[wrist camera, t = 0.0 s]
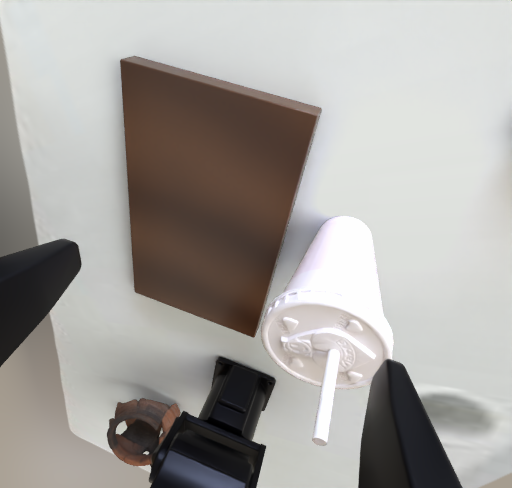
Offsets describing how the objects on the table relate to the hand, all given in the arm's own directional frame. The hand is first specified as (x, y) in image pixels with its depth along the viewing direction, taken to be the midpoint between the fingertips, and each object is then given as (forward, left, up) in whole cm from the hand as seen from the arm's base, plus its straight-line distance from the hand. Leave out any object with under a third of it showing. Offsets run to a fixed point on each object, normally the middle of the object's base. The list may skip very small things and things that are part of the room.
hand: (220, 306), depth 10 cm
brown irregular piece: (-43, +10, -15) cm, 47 cm away
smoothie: (-6, -4, -15) cm, 17 cm away
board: (-8, +6, -15) cm, 18 cm away
